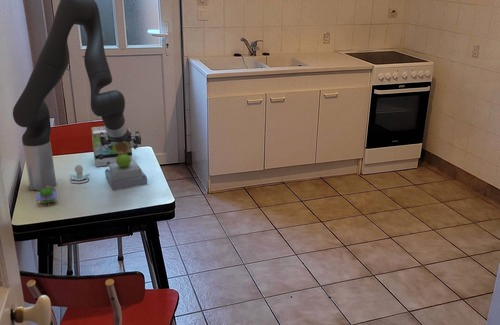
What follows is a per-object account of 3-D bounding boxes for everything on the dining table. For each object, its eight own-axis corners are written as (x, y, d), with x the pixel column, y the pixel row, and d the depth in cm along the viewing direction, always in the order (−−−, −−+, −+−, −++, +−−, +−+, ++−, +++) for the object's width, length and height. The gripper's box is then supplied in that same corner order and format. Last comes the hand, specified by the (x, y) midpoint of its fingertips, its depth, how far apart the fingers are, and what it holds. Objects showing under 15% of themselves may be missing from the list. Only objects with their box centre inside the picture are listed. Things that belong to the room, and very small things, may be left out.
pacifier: (88, 184, 186) (90, 177, 191) (86, 169, 183) (88, 162, 189) (68, 185, 185) (71, 178, 190) (66, 170, 182) (69, 163, 188)
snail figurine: (135, 168, 184) (132, 138, 180) (117, 170, 182) (114, 140, 178) (132, 163, 189) (130, 133, 185) (115, 165, 187) (112, 135, 183)
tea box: (96, 168, 200) (92, 133, 195) (94, 159, 209) (90, 126, 204) (133, 163, 205) (130, 130, 200) (129, 155, 214) (127, 123, 209)
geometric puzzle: (57, 203, 165) (55, 180, 167) (36, 206, 163) (33, 183, 165) (59, 207, 172) (56, 185, 174) (38, 210, 169) (36, 188, 171)
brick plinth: (112, 190, 180) (111, 175, 178) (105, 177, 191) (104, 163, 189) (147, 184, 185) (146, 169, 183) (138, 172, 196) (137, 158, 194)
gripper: (137, 117, 172) (142, 137, 187) (96, 118, 170) (104, 139, 185) (137, 136, 169) (142, 155, 184) (94, 137, 167) (103, 157, 182)
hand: (123, 147), depth 184 cm, fingers open, 8 cm apart
